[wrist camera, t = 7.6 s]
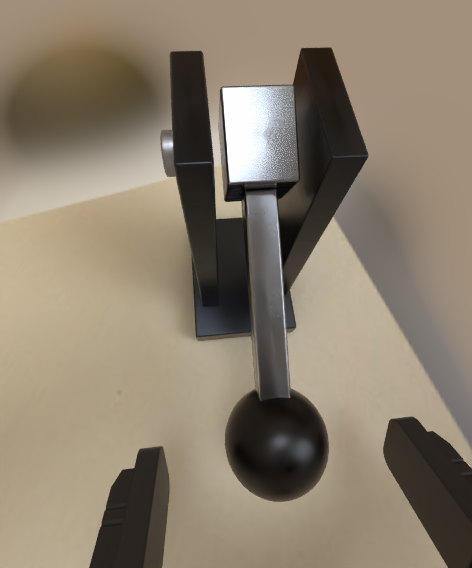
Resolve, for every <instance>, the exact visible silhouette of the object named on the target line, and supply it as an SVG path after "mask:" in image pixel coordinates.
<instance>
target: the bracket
mask: <svg viewBox="0 0 472 568" xmlns="http://www.w3.org/2000/svg"><path fill="white" fill-rule="evenodd" d="M203 58H204V57H203V53H202V51H173V52H171V53H170V76H171V106H172V130H162V131H161V151H162V159H163V164H164V169H165V173H166V175H167V177H176V180H177V185H178V189H179V194H180V199H181V204H182V209H183V213H184V218H185V223H186V228H187V233H188V237H189V242H190V247H191V252H192V271H193V289H194V307H195V325H196V337H197V339H198V341H201V340H212V339H222V338H233V337H243V336H251V324H250V311H249V297H248V284H247V270H246V256H245V243H244V229H243V218H229V219H216V207H215V180H214V160H213V151H212V150H213V149H212V139H211V130H210V119H209V109H208V98H207V88H206V78H205V68H204V59H203ZM293 85H294V86H295V100H296V116H297V133H298V149H299V166H300V181H299V182H298V183H297V184H296V185H295V186H294V187H293V188H292V189H291V190H290V191H289V192H288V193H287V194H286V195H285V196H284V197H283V198H281V199H278V208H279V223H280V239H281V254H282V269H283V284H284V299H285V314H286V329H287V332H292V331H293V330H294V329H295V328H296V322H295V317H294V311H293V306H292V300H291V295H290V288H291V286H292V285H293V283H294V281H295V280H296V278H297V276H298V274H299V273H300V271H301V269H302V268H303V266H304V264H305V263H306V261H307V259H308V258H309V256H310V254H311V253H312V251H313V249H314V247H315V246H316V244H317V242H318V241H319V239H320V237H321V236H322V234H323V232H324V231H325V229H326V227H327V226H328V224H329V222H330V220H331V219H332V217H333V215H334V214H335V212H336V210H337V209H338V207H339V205H340V204H341V202H342V200H343V198H344V197H345V195H346V193H347V192H348V190H349V188H350V187H351V185H352V183H353V182H354V180H355V178H356V176H357V175H358V173H359V172H360V170H361V168H362V166H363V165H364V163H365V161H366V160H367V158H368V152H367V149H366V146H365V143H364V140H363V138H362V135H361V132H360V129H359V126H358V123H357V120H356V117H355V114H354V111H353V109H352V106H351V103H350V100H349V97H348V94H347V91H346V88H345V85H344V82H343V79H342V76H341V73H340V71H339V68H338V65H337V62H336V59H335V56H334V53H333V50H332V48H302V49H301V51H300V55H299V60H298V64H297V69H296V73H295V78H294V83H293Z"/></svg>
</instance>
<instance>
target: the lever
mask: <svg viewBox="0 0 472 568" xmlns="http://www.w3.org/2000/svg"><path fill="white" fill-rule="evenodd" d="M219 138H220V150H221V164H222V177H223V190H224V200H225V202H231V201H241V202H242V216H243V229H244V243H245V256H246V270H247V284H248V297H249V311H250V324H251V338H252V351H253V365H254V379H255V390H253V391H251V392H249V393H248V394H246V395H245V396H244V397H243V398H242V399H241V400H240V401H239V402H238V403H237V404H236V406H235V407H234V409H233V410H232V412H231V414H230V417H229V419H228V422H227V426H226V432H225V448H226V454H227V458H228V461H229V464H230V466H231V468H232V471H233V472H234V474H235V476H236V477H237V479H238V480H239V481H240V482H241V484H242V485H243V486H244V487H245V488H247V489H248V490H249V491H250V492H252V493H253V494H255V495H256V496H258V497H261V498H263V499H266V500H269V501H274V502H284V501H290V500H294V499H297V498H299V497H301V496H303V495H305V494H306V493H308V492H309V491H310V490H311V489H312V488H313V487H314V486H315V485H316V484H317V483H318V481H319V480H320V478H321V476H322V475H323V472H324V470H325V468H326V464H327V460H328V453H329V441H328V434H327V430H326V427H325V424H324V421H323V419H322V417H321V415H320V414H319V412H318V410H317V409H316V407H315V406H314V405H313V404H312V403H311V402H310V401H309V400H308V399H307V398H306V397H305V396H303V395H302V394H300V393H299V392H297V391H295V390H293V389H290V375H289V360H288V345H287V329H286V314H285V299H284V284H283V269H282V254H281V239H280V223H279V208H278V199H281V198H283V197H284V196H285V195H286V194H287V193H288V192H289V191H290V190H291V189H292V188H293V187H294V186H295V185H296V184H297V183H298V182H299V181H300V166H299V149H298V133H297V116H296V100H295V86H294V85H265V86H233V87H232V86H231V87H221V89H220V107H219Z"/></svg>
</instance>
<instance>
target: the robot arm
mask: <svg viewBox="0 0 472 568" xmlns="http://www.w3.org/2000/svg"><path fill="white" fill-rule="evenodd" d="M383 453H384V458H385V461H386V463H387V466H388V468H389V469H390V471H391V473H392V474H393V476H394V478H395V479H396V481H397V483H398V484H399V486H400V488H401V489H402V491H403V493H404V494H405V496H406V498H407V499H408V501H409V503H410V505H411V506H412V508H413V510H414V511H415V513H416V515H417V516H418V518H419V520H420V521H421V523H422V525H423V526H424V528H425V530H426V531H427V533H428V535H429V536H430V538H431V540H432V541H433V543H434V545H435V546H436V548H437V550H438V551H439V553H440V555H441V557H442V558H443V560H444V562H445V563H446V565H447V567H448V568H472V469H471V468H470V467H469V465H468V464H467V463H466V462H464V461H463V458H462V457H461V456H460V455H459V454H458V453H457V451H456V450H455V449H454V448H453V447H452V446H451V444H450V443H448V442H447V441H446V440H444V439H443V438H441V437H440V436H439V435H437V434H436V433H435V432H433V431H431V432H427V431H426V429H425V428H424V427H423V426H422V425H421V423H420V422H419V421H418V420H417V419H416V418H414V417H404V418H396V419H391V420H390V421H389V424H388V429H387V433H386V438H385V442H384V447H383ZM168 502H169V474H168V469H167V464H166V459H165V454H164V449H163V447H162V446H160V447H152V448H144V449H140V450H139V452H138V455H137V459H136V464H135V468H133V469H125V470H122V471H121V473H120V474H119V476H118V477H117V479H116V481H115V482H114V484H113V485H112V487H111V490H110V494H109V497H108V501H107V505H106V510H105V512H104V516H103V519H102V526H101V527H100V530H99V534H98V538H97V541H96V545H95V549H94V552H93V556H92V560H91V563H90V567H89V568H162V564H163V554H164V543H165V533H166V523H167V513H168Z"/></svg>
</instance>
